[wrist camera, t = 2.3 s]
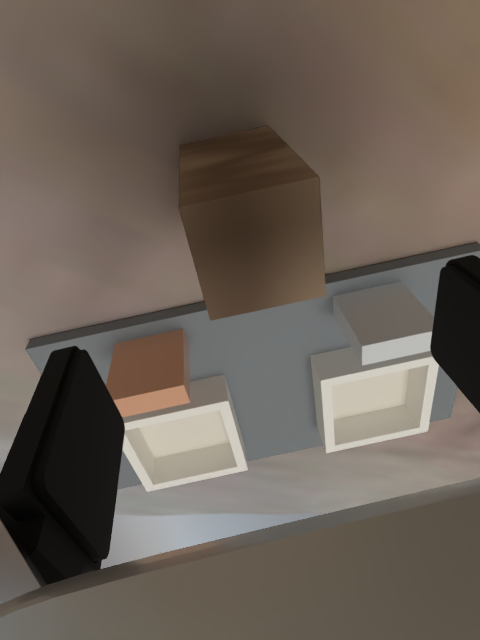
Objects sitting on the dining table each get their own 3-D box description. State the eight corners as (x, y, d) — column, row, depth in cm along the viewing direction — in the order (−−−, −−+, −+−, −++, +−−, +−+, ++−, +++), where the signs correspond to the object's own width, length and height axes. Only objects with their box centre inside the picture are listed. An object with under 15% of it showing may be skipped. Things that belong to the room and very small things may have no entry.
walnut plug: (268, 125, 20) (319, 176, 12) (278, 211, 22) (325, 296, 15) (179, 145, 20) (178, 207, 12) (200, 228, 22) (209, 320, 15)
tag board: (477, 242, 25) (515, 268, 22) (444, 408, 34) (467, 441, 32) (30, 339, 25) (10, 377, 22) (119, 478, 34) (113, 517, 32)
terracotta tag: (183, 328, 25) (183, 384, 21) (188, 345, 26) (190, 402, 22) (114, 343, 25) (102, 402, 21) (122, 359, 26) (111, 419, 22)
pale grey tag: (401, 281, 25) (444, 328, 21) (399, 299, 26) (440, 348, 22) (332, 296, 25) (362, 346, 21) (333, 314, 26) (361, 365, 22)
